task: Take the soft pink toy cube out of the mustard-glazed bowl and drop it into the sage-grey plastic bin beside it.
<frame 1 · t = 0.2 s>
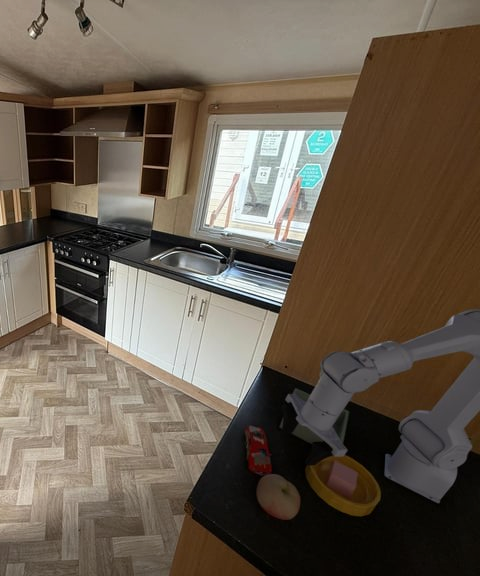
hand: (297, 447, 70), 10 cm above the worktop, tool pointing down, fingers open, 7 cm apart
fruit: (272, 507, 69), on the worktop
race car: (255, 454, 80), on the worktop
bowl: (337, 486, 73), on the worktop
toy: (338, 485, 73), resting on bowl
bin: (310, 426, 88), on the worktop
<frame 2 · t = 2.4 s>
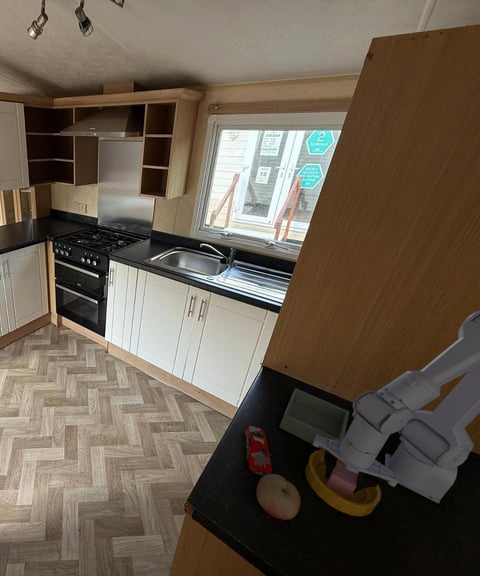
hand: (339, 482, 72), 2 cm above the worktop, tool pointing down, fingers closed on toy, 4 cm apart
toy: (338, 485, 73), point 1 cm above the worktop, touching bowl, gripper
everything else where it was.
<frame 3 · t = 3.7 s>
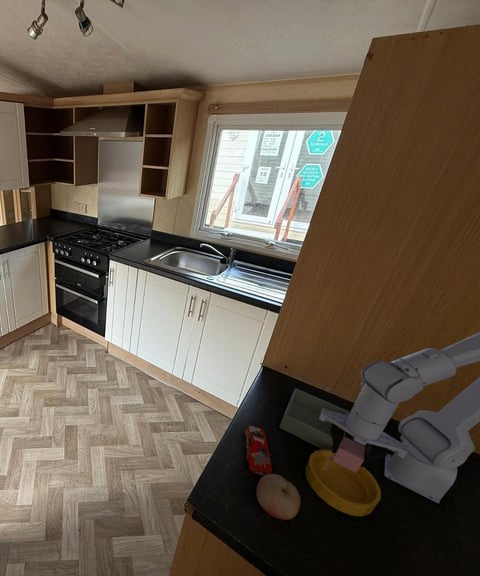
hand: (346, 456, 71), 8 cm above the worktop, tool pointing down, fingers closed on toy, 4 cm apart
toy: (345, 460, 71), point 7 cm above the worktop, touching gripper
everything else where it was.
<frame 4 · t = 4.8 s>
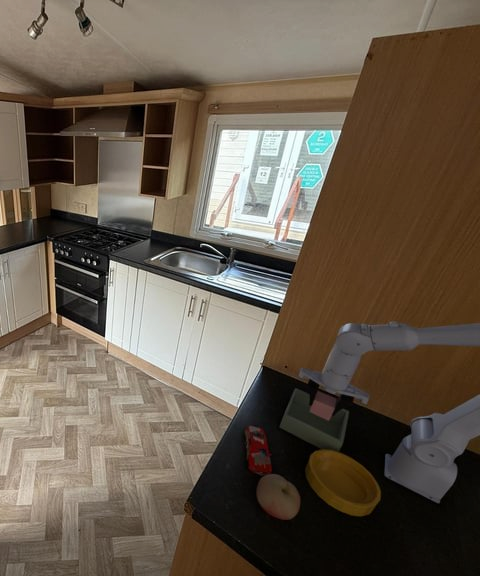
hand: (321, 408, 83), 8 cm above the worktop, tool pointing down, fingers closed on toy, 4 cm apart
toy: (320, 411, 83), point 7 cm above the worktop, touching gripper
everything else where it was.
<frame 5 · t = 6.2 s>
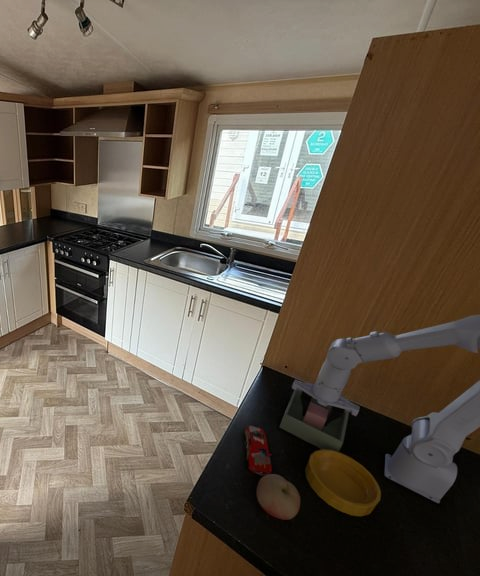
hand: (314, 418, 86), 3 cm above the worktop, tool pointing down, fingers closed on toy, 4 cm apart
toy: (313, 421, 87), point 2 cm above the worktop, touching gripper
everything else where it was.
when the fingers open (2 cm above the worktop, at t = 7.1 s): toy stays where it is, resting on bin.
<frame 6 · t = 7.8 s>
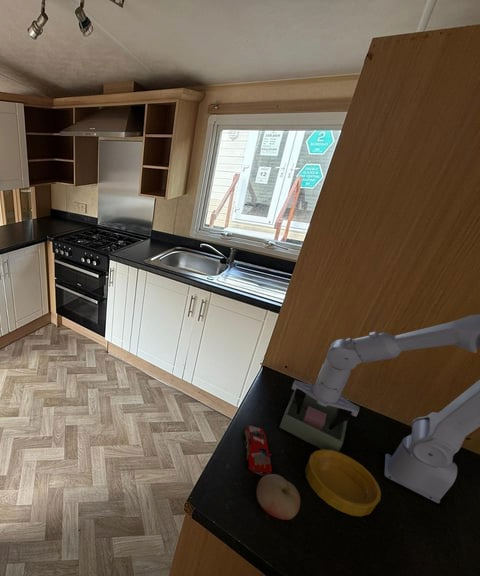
hand: (314, 419, 86), 3 cm above the worktop, tool pointing down, fingers open, 7 cm apart
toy: (311, 425, 87), resting on bin
everything else where it was.
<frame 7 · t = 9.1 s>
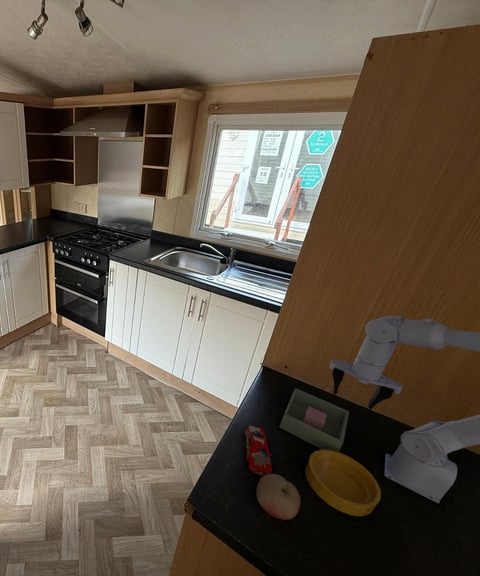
hand: (352, 399, 85), 9 cm above the worktop, tool pointing down, fingers open, 7 cm apart
nothing on the worktop moved.
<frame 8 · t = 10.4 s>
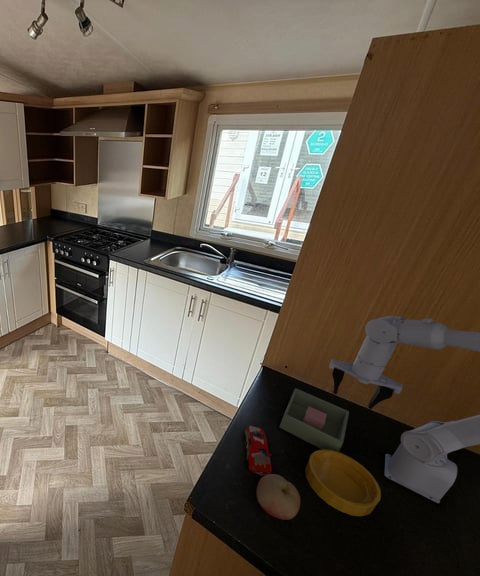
hand: (352, 399, 85), 9 cm above the worktop, tool pointing down, fingers open, 7 cm apart
nothing on the worktop moved.
at the end: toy inside the target area in the bin (0.0 cm from its centre), point 0.5 cm above the bin's base; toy moved 17.0 cm from its start; the gripper is holding nothing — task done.
